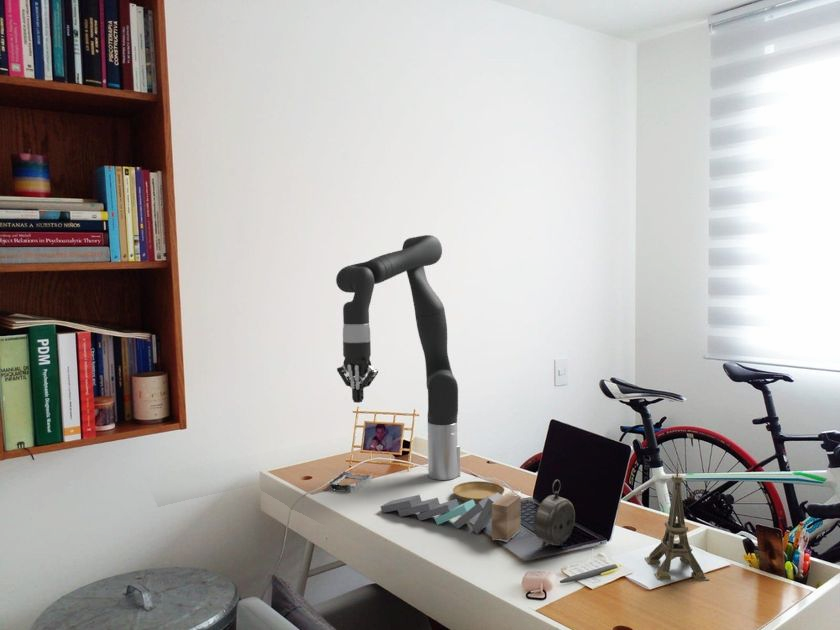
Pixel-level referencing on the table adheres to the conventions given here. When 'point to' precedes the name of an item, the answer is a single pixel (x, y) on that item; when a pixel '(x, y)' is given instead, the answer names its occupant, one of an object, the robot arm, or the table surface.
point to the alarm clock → (554, 519)
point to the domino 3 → (438, 510)
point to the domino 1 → (400, 503)
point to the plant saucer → (477, 490)
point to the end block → (506, 517)
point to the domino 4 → (455, 512)
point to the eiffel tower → (675, 546)
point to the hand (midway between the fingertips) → (358, 402)
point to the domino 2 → (420, 507)
